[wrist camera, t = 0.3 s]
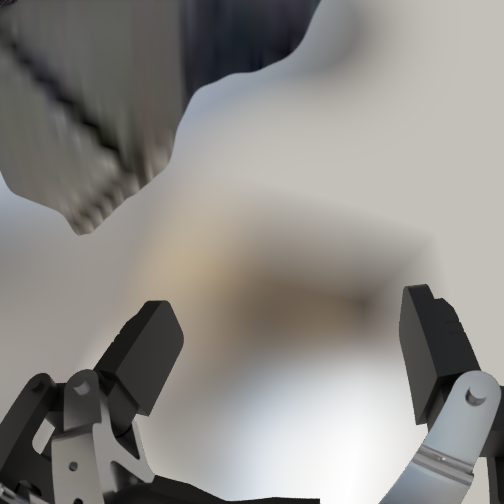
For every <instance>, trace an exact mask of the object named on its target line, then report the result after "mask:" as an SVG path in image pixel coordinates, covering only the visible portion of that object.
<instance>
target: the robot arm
mask: <svg viewBox="0 0 504 504" xmlns="http://www.w3.org/2000/svg"><path fill="white" fill-rule="evenodd" d="M399 337H400V343H401V347H402V352H403V356H404V361H405V365H406V370H407V375H408V380H409V385H410V390H411V396H412V402H413V408H414V414H415V421H416V425H420V424H425V423H427V427H428V435H427V436H426V438H425V439H424V441H423V443H422V444H421V446H420V448H419V449H418V451H417V452H416V454H415V455H414V457H413V458H412V460H411V461H410V463H409V464H408V466H407V467H406V469H405V470H404V471H403V473H402V474H401V476H400V477H399V478H398V480H397V481H396V482H395V484H394V485H393V486H392V488H391V489H390V490H389V491H388V493H387V494H386V495H385V496H384V498H383V499H382V500H381V501H380V502H379V504H461V502H462V501H463V499H464V497H465V495H466V494H467V492H468V490H469V488H470V486H471V484H472V481H473V478H474V474H473V473H472V471H473V468H474V465H475V463H476V461H477V459H478V457H486V458H487V467H488V476H489V492H490V504H504V386H500V385H499V384H498V382H497V381H496V379H495V378H494V377H493V376H492V375H490V374H488V373H486V372H483V371H481V369H480V367H479V364H478V361H477V359H476V356H475V354H474V352H473V349H472V347H471V344H470V342H469V340H468V338H467V335H466V333H465V332H464V329H463V327H462V324H461V322H459V318H458V316H457V314H456V312H455V310H454V308H453V307H452V306H451V305H450V304H448V302H446V301H445V300H444V299H443V298H440V299H434V297H433V294H432V292H431V290H430V288H429V286H428V285H427V284H422V285H414V286H405V287H404V290H403V297H402V307H401V314H400V322H399ZM183 343H184V337H183V332H182V330H181V327H180V325H179V323H178V321H177V318H176V316H175V314H174V311H173V309H172V307H171V305H170V303H169V302H168V301H165V300H163V301H147V302H146V303H145V304H144V305H143V307H142V308H141V309H140V311H139V312H138V313H137V314H136V315H135V316H134V317H132V318H131V319H130V320H129V321H127V322H126V324H125V325H124V326H123V328H122V329H121V331H120V334H118V335H117V336H116V337H115V339H114V342H112V343H111V345H110V346H109V347H108V349H107V350H106V352H105V353H104V354H103V356H102V357H101V359H100V360H99V362H98V363H97V365H96V366H95V367H94V369H93V370H90V369H85V370H81V371H79V372H77V373H75V374H74V375H73V376H72V377H71V378H70V379H69V380H68V381H67V383H55V382H54V381H53V380H52V379H51V377H50V376H49V375H48V374H46V373H40V374H37V375H35V376H34V377H32V378H31V379H30V380H29V381H28V383H27V384H26V386H25V387H24V388H23V390H22V391H21V393H20V395H19V396H18V398H17V399H16V400H15V402H14V404H13V405H12V406H11V408H10V410H9V411H8V413H7V414H6V416H5V418H4V419H3V421H2V422H1V424H0V504H320V499H305V498H304V499H303V498H281V497H272V498H264V499H254V500H244V501H225V500H223V499H220V498H218V497H216V496H213V495H211V494H209V493H207V492H205V491H203V490H201V489H199V488H197V487H195V486H193V485H191V484H188V483H183V482H180V481H175V480H172V479H168V478H165V477H161V476H158V475H155V474H154V473H153V472H152V470H151V469H150V467H149V465H148V463H147V460H146V457H145V453H144V449H143V446H142V442H141V438H140V434H139V431H138V426H137V423H136V421H135V420H134V417H135V415H136V414H140V415H145V416H149V415H150V413H151V411H152V409H153V406H154V404H155V402H156V400H157V398H158V396H159V394H160V392H161V390H162V388H163V386H164V384H165V382H166V380H167V377H168V376H169V373H170V372H171V370H172V368H173V365H174V363H175V361H176V359H177V357H178V355H179V353H180V351H181V349H182V347H183ZM44 418H45V419H47V421H48V422H50V423H51V424H52V425H53V426H54V427H55V430H54V431H53V433H52V435H51V437H50V439H49V441H48V443H47V444H46V446H45V448H44V450H43V452H42V453H41V454H39V453H37V452H36V451H35V450H34V448H33V446H32V440H33V438H34V436H35V434H36V432H37V431H38V429H39V427H40V425H41V424H42V422H43V420H44ZM20 481H21V482H20Z"/></svg>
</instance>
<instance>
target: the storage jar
mask: <svg viewBox="0 0 504 504" xmlns="http://www.w3.org/2000/svg"><path fill="white" fill-rule="evenodd" d="M15 1H17V0H0V8H1V7H2V6H5V5H8V4H11V3H14V2H15Z"/></svg>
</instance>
